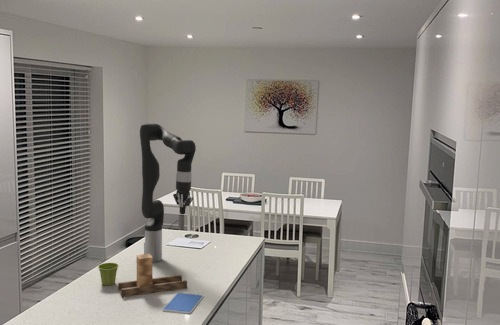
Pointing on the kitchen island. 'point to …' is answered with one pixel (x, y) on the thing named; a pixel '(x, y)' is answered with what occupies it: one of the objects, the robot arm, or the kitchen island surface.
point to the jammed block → (144, 270)
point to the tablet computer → (183, 303)
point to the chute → (152, 286)
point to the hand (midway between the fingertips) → (182, 213)
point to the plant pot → (108, 273)
